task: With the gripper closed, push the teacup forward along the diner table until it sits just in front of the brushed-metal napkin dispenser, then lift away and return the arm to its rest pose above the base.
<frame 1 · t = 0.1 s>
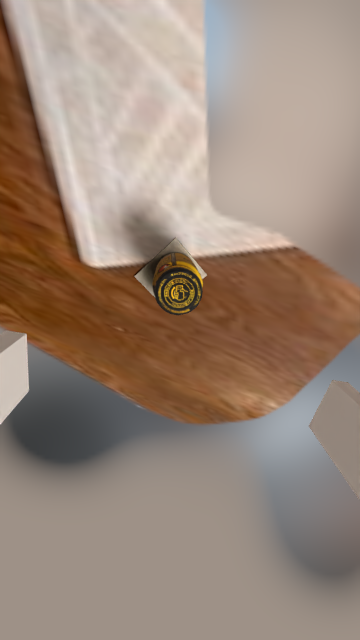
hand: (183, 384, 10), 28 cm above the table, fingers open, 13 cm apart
condiment: (170, 275, 37), on the table
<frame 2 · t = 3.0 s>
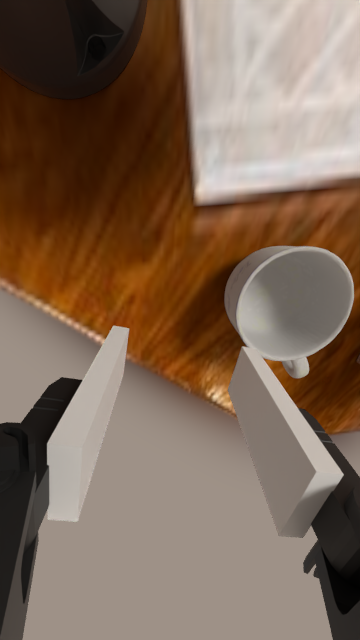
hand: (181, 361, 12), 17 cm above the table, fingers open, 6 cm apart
teacup: (263, 300, 29), on the table
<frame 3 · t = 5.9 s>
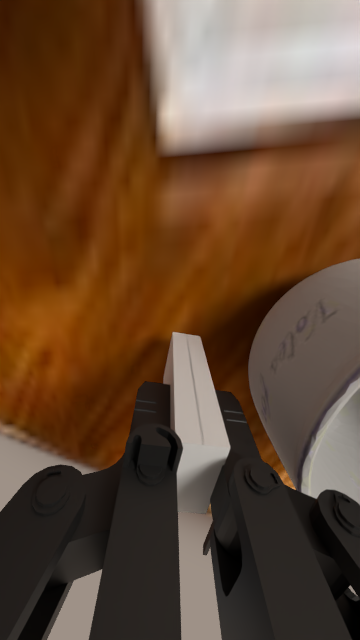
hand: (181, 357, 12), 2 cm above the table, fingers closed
teacup: (319, 357, 15), on the table, touching gripper
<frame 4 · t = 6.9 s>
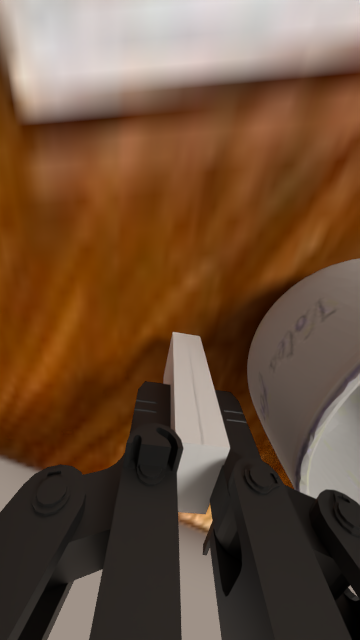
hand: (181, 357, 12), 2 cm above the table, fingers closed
teacup: (318, 357, 15), on the table, touching gripper
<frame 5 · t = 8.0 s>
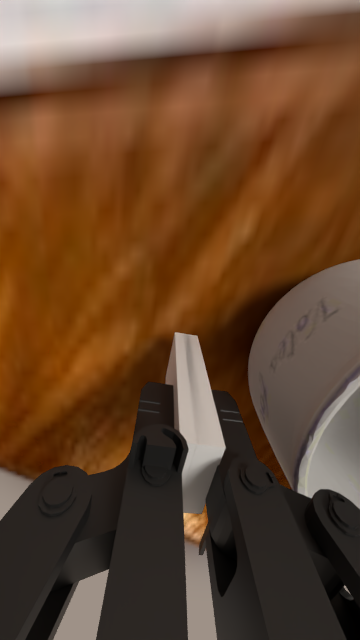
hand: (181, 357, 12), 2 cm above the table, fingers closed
teacup: (321, 359, 15), on the table, touching gripper, napkin dispenser
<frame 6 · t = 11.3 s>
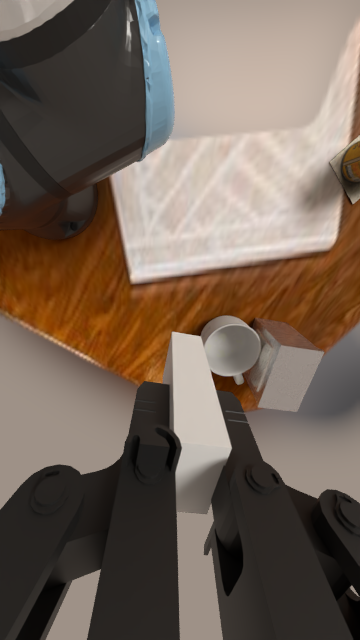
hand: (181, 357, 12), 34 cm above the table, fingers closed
condiment: (359, 167, 40), on the table
teacup: (223, 339, 51), on the table
napkin dispenser: (262, 345, 52), on the table
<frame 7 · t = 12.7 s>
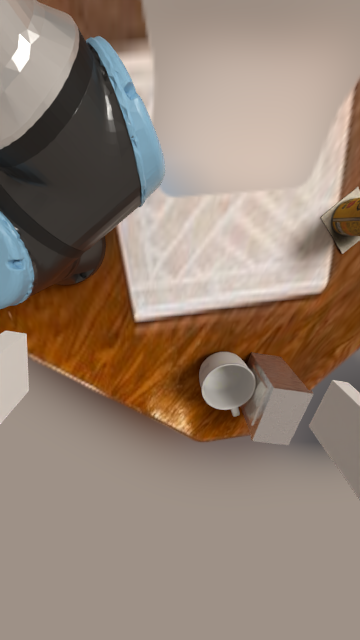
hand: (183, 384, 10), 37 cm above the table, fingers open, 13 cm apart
condiment: (347, 222, 43), on the table
teacup: (221, 371, 54), on the table, touching napkin dispenser
napkin dispenser: (257, 377, 55), on the table
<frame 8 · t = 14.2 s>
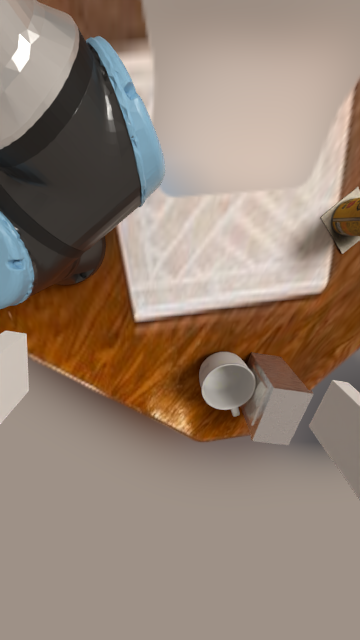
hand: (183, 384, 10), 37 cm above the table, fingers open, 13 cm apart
condiment: (347, 222, 43), on the table
teacup: (221, 371, 54), on the table
napkin dispenser: (257, 377, 55), on the table
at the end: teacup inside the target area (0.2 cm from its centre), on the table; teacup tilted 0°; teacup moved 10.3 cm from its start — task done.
